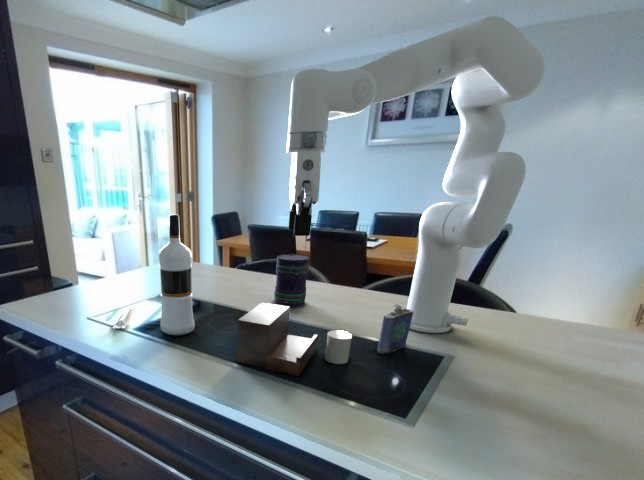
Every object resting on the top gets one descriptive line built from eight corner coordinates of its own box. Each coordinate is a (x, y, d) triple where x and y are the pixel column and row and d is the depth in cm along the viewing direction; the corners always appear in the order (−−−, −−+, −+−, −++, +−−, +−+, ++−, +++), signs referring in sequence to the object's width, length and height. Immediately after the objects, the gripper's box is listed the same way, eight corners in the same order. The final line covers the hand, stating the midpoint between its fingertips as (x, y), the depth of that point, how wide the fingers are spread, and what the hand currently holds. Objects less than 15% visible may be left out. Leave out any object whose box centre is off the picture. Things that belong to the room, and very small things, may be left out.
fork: (135, 309, 122) (134, 303, 121) (122, 333, 103) (121, 326, 103) (124, 309, 122) (124, 303, 121) (110, 333, 103) (109, 326, 103)
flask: (384, 355, 89) (392, 310, 84) (372, 350, 91) (380, 307, 87) (408, 346, 93) (417, 303, 89) (396, 342, 95) (405, 300, 91)
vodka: (154, 333, 103) (147, 215, 91) (171, 322, 111) (167, 212, 99) (184, 339, 99) (181, 216, 88) (200, 327, 107) (199, 213, 95)
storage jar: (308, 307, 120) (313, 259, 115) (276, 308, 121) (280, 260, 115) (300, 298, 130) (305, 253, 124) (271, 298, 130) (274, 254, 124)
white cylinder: (350, 357, 88) (353, 332, 86) (345, 366, 84) (349, 340, 82) (327, 352, 90) (330, 328, 88) (322, 361, 86) (325, 336, 84)
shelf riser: (316, 351, 91) (320, 311, 87) (298, 376, 80) (303, 331, 76) (259, 340, 98) (261, 302, 94) (236, 361, 87) (237, 319, 83)
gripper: (335, 140, 69) (323, 238, 76) (317, 147, 85) (309, 227, 92) (292, 141, 70) (284, 238, 77) (282, 147, 86) (277, 227, 92)
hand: (298, 232), depth 84 cm, fingers open, 9 cm apart
